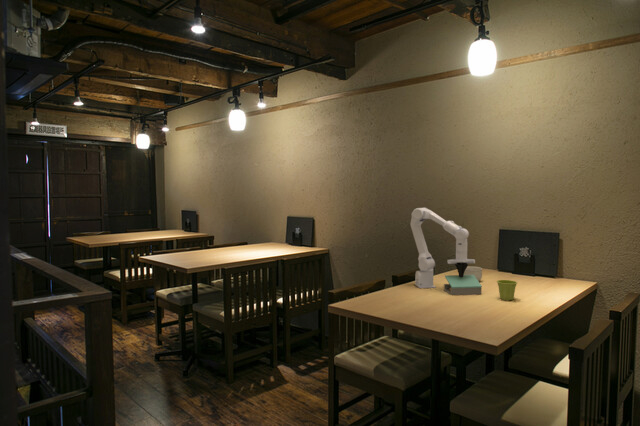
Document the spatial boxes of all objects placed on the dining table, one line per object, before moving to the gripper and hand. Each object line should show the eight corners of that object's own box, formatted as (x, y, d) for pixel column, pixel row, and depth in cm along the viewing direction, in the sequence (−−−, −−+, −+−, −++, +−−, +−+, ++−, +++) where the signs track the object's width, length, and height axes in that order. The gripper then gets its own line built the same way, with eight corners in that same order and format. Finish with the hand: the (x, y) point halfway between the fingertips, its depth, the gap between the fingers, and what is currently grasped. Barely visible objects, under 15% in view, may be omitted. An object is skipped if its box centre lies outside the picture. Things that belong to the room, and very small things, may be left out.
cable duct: (451, 295, 218) (451, 288, 218) (443, 290, 228) (444, 283, 228) (481, 294, 220) (481, 287, 220) (472, 289, 230) (472, 283, 230)
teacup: (484, 283, 246) (485, 269, 245) (465, 283, 246) (466, 269, 245) (476, 278, 260) (476, 265, 259) (458, 278, 260) (458, 265, 259)
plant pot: (495, 300, 209) (495, 282, 208) (497, 295, 217) (497, 278, 217) (516, 302, 204) (516, 284, 204) (517, 297, 213) (517, 280, 212)
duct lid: (451, 288, 218) (452, 286, 218) (444, 276, 227) (445, 275, 226) (481, 287, 220) (481, 286, 219) (473, 276, 228) (473, 274, 228)
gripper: (451, 252, 220) (451, 278, 221) (478, 252, 221) (477, 278, 222) (446, 250, 227) (445, 276, 228) (471, 250, 228) (471, 275, 229)
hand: (461, 276), depth 225 cm, fingers closed, pressing on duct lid
